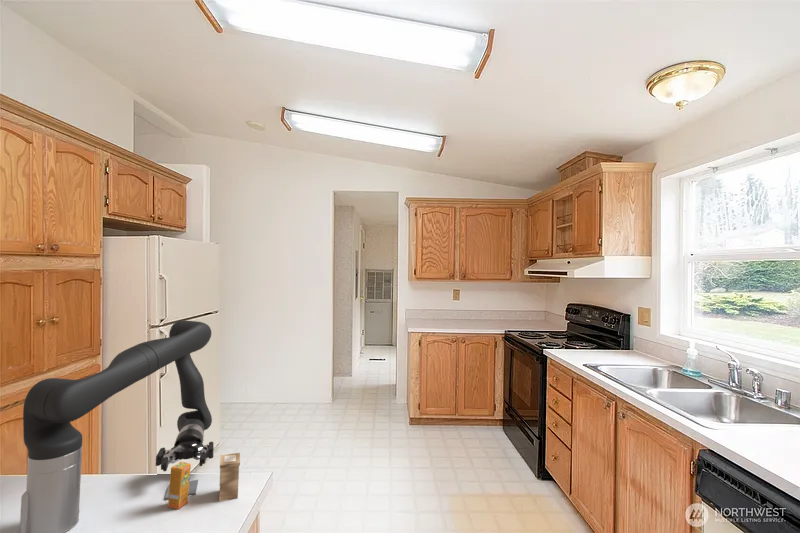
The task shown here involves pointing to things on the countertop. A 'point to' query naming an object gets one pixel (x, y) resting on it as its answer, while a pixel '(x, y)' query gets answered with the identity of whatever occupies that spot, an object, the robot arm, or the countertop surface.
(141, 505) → the countertop surface
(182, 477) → the supplement box
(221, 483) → the box
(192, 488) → the coaster
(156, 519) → the countertop surface
